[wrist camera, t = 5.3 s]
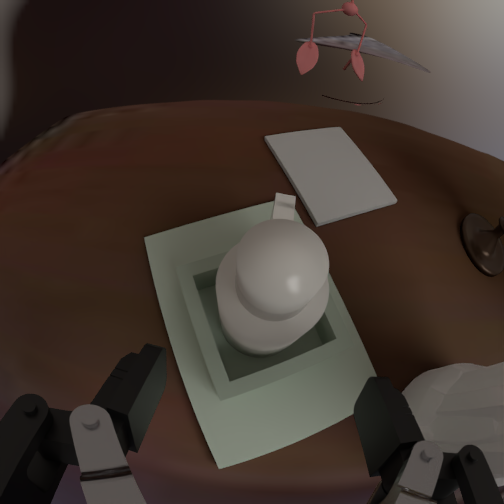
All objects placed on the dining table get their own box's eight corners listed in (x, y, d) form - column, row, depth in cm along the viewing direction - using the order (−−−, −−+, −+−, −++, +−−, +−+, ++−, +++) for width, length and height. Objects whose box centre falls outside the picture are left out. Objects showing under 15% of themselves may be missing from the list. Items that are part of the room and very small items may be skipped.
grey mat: (395, 203, 29) (397, 200, 29) (316, 226, 27) (317, 223, 26) (338, 130, 34) (339, 126, 34) (264, 140, 32) (264, 136, 31)
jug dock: (380, 395, 19) (404, 393, 16) (219, 466, 16) (217, 481, 13) (287, 202, 28) (294, 176, 24) (146, 242, 24) (135, 218, 21)
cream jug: (293, 362, 20) (348, 336, 11) (213, 350, 20) (197, 313, 11) (304, 260, 24) (346, 177, 15) (234, 248, 24) (238, 156, 15)
